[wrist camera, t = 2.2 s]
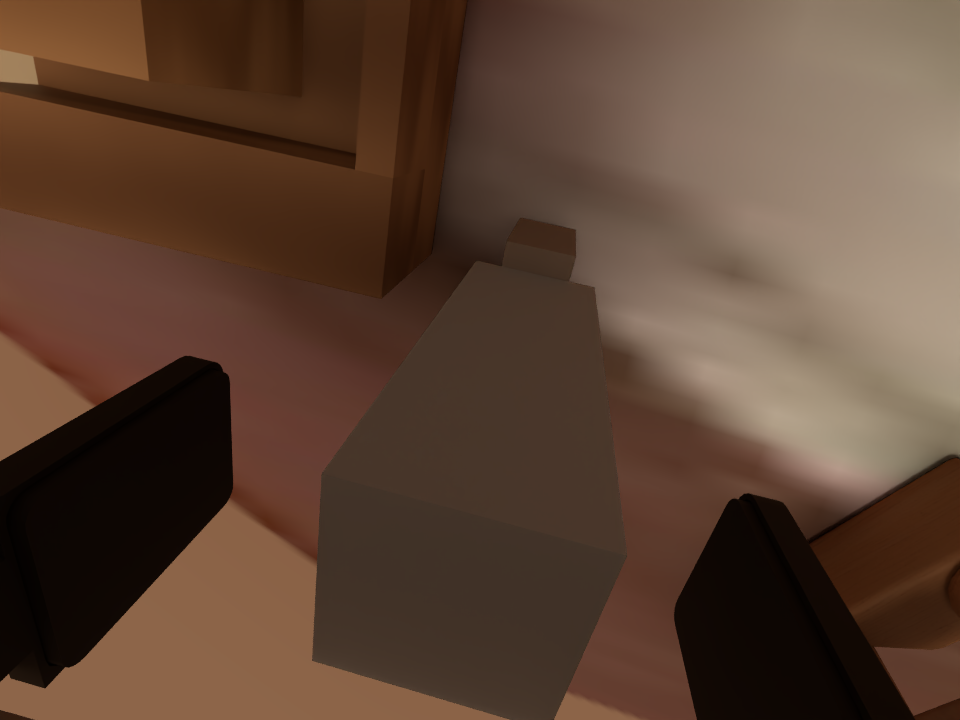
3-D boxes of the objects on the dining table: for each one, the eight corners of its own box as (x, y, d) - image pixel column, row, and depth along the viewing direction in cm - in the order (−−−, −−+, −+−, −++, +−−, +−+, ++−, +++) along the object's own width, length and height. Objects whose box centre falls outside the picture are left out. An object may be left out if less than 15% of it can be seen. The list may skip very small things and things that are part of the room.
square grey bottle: (499, 213, 18) (324, 419, 5) (596, 234, 18) (650, 503, 5) (475, 338, 20) (311, 690, 8) (560, 359, 20) (536, 758, 7)
